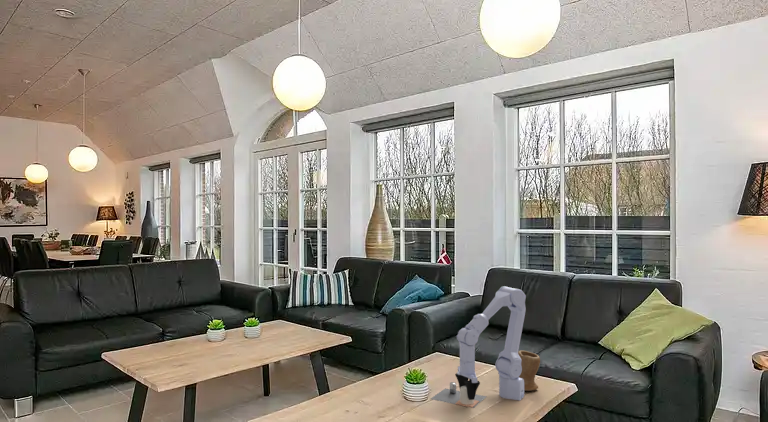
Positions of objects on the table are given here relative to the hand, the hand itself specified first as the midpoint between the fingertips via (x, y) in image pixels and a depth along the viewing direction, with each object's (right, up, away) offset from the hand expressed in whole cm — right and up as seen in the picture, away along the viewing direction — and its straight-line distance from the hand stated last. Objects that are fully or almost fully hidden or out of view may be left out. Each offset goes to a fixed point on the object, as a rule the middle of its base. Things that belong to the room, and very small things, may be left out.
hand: (467, 395), depth 195 cm
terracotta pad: (0, -3, 0) cm, 3 cm away
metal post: (-4, -3, +11) cm, 12 cm away
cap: (0, -2, 0) cm, 2 cm away
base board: (-3, -4, +6) cm, 7 cm away
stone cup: (+27, -4, +22) cm, 35 cm away
